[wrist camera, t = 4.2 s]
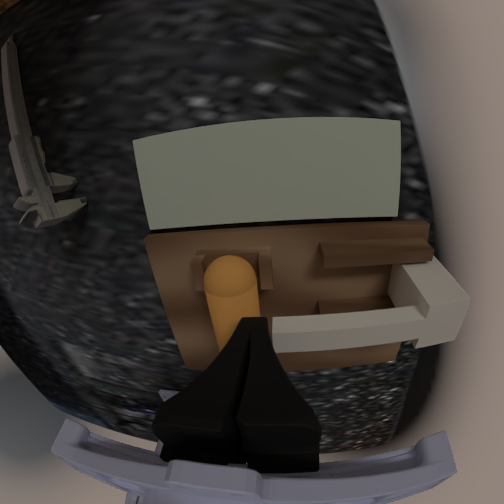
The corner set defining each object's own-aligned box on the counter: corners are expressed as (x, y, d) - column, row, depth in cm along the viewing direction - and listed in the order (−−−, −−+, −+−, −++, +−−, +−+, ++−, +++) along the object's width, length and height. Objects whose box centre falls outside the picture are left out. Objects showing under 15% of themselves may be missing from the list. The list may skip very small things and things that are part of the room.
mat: (394, 213, 16) (397, 216, 15) (153, 226, 18) (150, 229, 17) (396, 120, 13) (400, 120, 13) (136, 139, 15) (132, 140, 15)
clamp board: (392, 354, 22) (399, 375, 19) (188, 362, 24) (182, 383, 21) (424, 220, 16) (443, 235, 13) (148, 234, 18) (131, 251, 16)
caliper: (92, 200, 17) (36, 235, 12) (84, 208, 18) (30, 243, 12) (14, 35, 10) (-33, 33, 5) (8, 43, 10) (-39, 44, 5)
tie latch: (422, 288, 17) (454, 339, 12) (275, 299, 18) (274, 362, 13) (430, 252, 16) (471, 299, 11) (273, 261, 17) (271, 320, 12)
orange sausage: (268, 375, 21) (266, 404, 19) (233, 374, 22) (228, 403, 19) (256, 244, 16) (251, 271, 13) (205, 247, 16) (192, 273, 14)
